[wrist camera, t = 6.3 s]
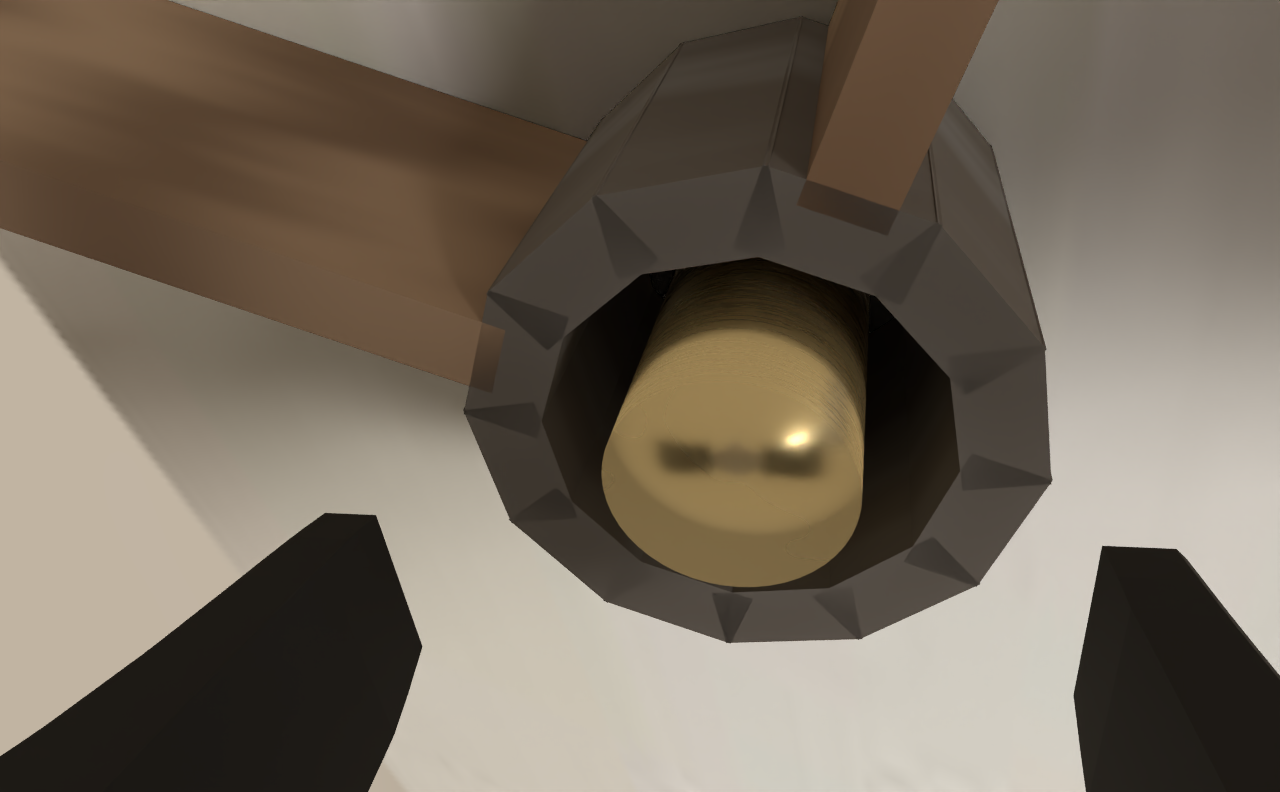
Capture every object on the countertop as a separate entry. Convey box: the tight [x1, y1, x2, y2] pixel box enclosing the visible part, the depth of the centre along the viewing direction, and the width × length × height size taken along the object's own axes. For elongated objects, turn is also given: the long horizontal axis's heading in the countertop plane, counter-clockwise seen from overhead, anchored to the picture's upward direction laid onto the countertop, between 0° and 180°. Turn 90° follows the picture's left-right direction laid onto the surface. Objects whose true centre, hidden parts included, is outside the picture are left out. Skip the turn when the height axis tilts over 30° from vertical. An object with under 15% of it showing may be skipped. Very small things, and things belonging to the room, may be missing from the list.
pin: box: [602, 257, 870, 587], centre depth 14 cm, size 3×3×7 cm
